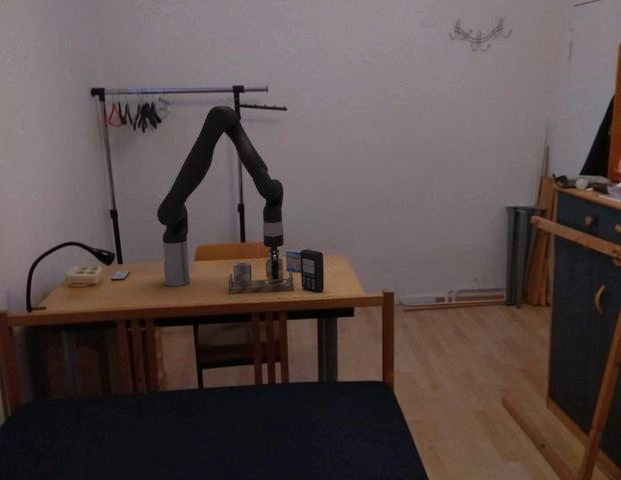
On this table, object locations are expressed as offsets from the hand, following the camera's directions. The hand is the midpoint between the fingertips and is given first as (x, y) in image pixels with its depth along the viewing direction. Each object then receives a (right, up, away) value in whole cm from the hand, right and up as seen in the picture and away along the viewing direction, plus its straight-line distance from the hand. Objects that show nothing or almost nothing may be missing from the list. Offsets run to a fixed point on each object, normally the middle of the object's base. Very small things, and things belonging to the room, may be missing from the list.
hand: (275, 277), depth 224 cm
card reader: (+14, -5, -3) cm, 15 cm away
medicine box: (+8, +1, +25) cm, 26 cm away
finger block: (0, -1, 0) cm, 1 cm away
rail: (-5, -4, 0) cm, 7 cm away
